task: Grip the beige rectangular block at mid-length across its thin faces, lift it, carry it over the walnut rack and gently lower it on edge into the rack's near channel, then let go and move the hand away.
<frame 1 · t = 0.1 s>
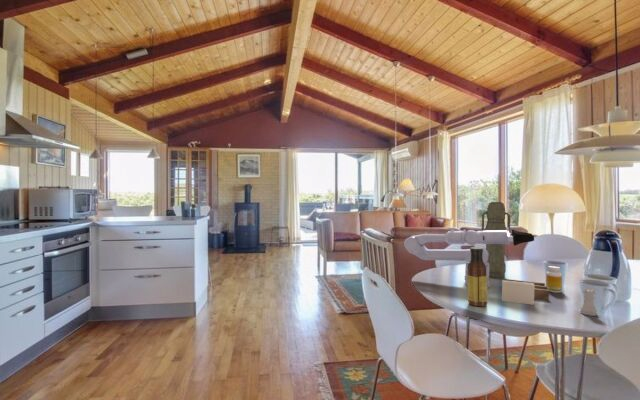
hand: (533, 237, 140), 22 cm above the table, tool horizontal, fingers open, 7 cm apart
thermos: (494, 276, 164), on the table
rack: (523, 292, 137), on the table
rook chess piece: (588, 314, 114), on the table
supplement bottle: (553, 291, 141), on the table
beige rectangular block: (517, 301, 126), on the table
sauce bottle: (476, 305, 122), on the table
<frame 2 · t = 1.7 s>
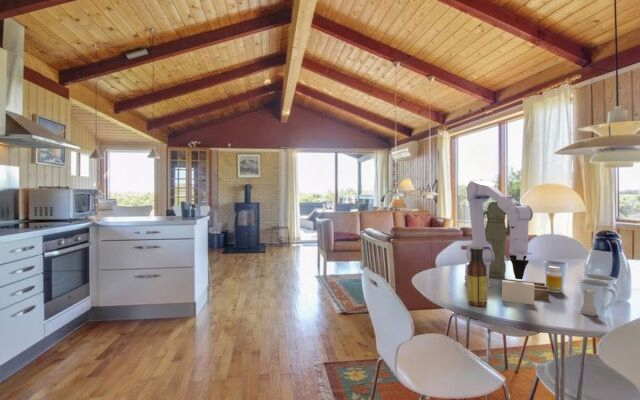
hand: (518, 276, 126), 9 cm above the table, tool pointing down, fingers open, 7 cm apart
nothing on the table moved.
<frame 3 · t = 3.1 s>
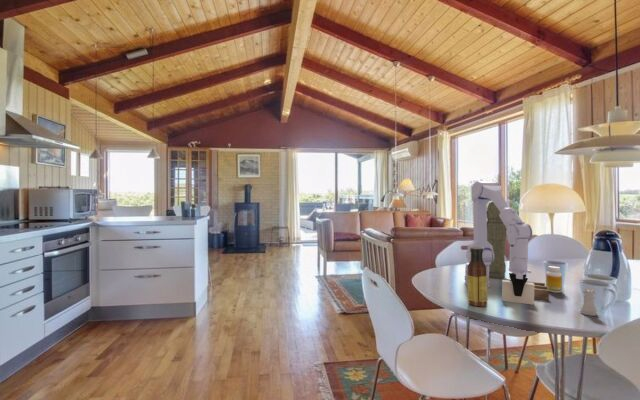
hand: (517, 294, 126), 2 cm above the table, tool pointing down, fingers closed on beige rectangular block, 3 cm apart
beige rectangular block: (517, 301, 126), on the table, touching gripper
everything else where it was.
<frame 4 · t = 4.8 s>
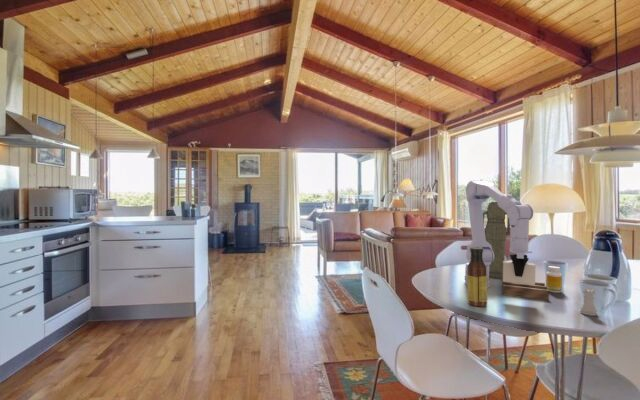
hand: (518, 275, 127), 9 cm above the table, tool pointing down, fingers closed on beige rectangular block, 3 cm apart
beige rectangular block: (518, 282, 127), point 7 cm above the table, touching gripper
everything else where it was.
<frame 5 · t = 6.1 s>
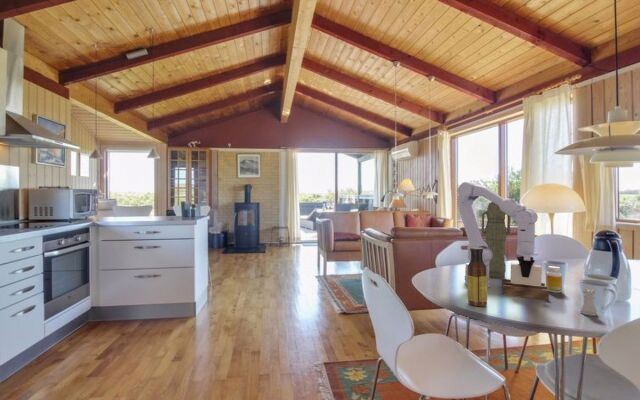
hand: (524, 276, 134), 7 cm above the table, tool pointing down, fingers closed on beige rectangular block, 3 cm apart
beige rectangular block: (525, 283, 134), point 5 cm above the table, touching gripper
everything else where it was.
when the fingers open (5 cm above the table, at t = 6.8 s): beige rectangular block drops 2 cm, resting on rack.
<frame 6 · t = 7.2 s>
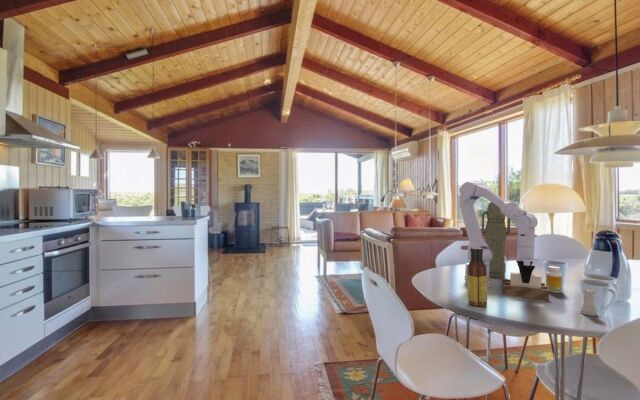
hand: (524, 280, 134), 5 cm above the table, tool pointing down, fingers open, 6 cm apart
beige rectangular block: (525, 292, 134), point 1 cm above the table, touching rack
everything else where it was.
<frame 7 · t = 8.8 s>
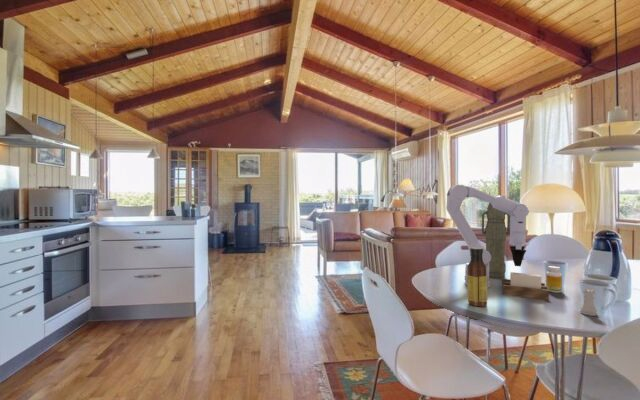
hand: (517, 264, 146), 9 cm above the table, tool pointing down, fingers open, 7 cm apart
nothing on the table moved.
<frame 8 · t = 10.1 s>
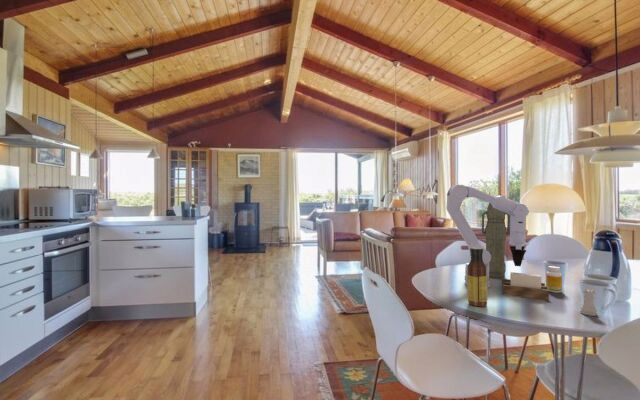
hand: (517, 264, 146), 9 cm above the table, tool pointing down, fingers open, 7 cm apart
nothing on the table moved.
at the end: beige rectangular block inside the target area on the rack (0.2 cm from its centre), point 1.0 cm above the rack's base; beige rectangular block tilted 0°; the gripper is holding nothing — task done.
